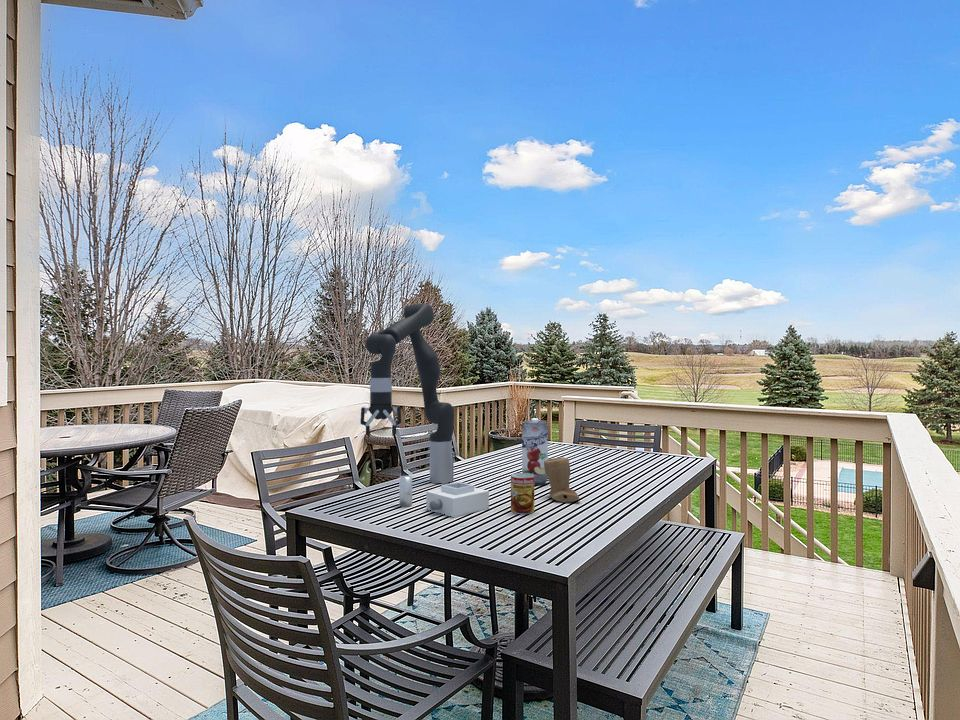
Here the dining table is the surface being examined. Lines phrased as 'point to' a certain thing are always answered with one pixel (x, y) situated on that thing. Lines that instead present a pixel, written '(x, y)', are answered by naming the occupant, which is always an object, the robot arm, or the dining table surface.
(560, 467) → the tan suede boot
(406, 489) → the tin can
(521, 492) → the canned food
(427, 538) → the dining table surface
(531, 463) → the juice carton
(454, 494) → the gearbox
